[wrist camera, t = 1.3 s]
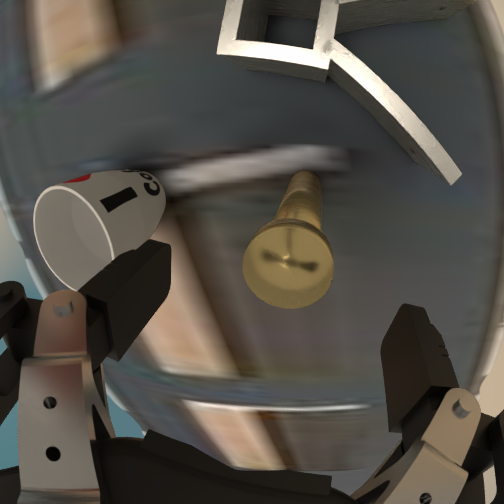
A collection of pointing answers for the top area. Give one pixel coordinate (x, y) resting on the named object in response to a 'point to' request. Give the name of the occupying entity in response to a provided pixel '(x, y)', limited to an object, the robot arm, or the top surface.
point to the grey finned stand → (340, 59)
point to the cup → (96, 221)
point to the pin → (291, 249)
